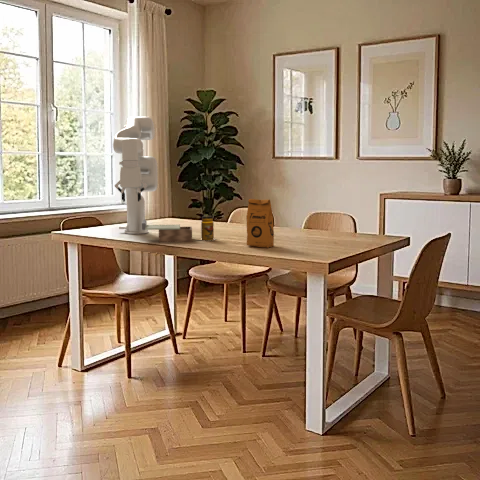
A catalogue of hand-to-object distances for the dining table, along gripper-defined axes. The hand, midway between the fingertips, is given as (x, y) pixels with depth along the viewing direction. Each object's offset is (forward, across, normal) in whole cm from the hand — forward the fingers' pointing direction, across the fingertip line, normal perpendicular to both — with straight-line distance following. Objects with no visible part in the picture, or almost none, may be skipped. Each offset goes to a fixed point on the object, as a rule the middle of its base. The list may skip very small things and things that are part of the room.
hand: (131, 201), depth 304 cm
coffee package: (+20, +60, -24) cm, 68 cm away
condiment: (+20, +36, 0) cm, 41 cm away
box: (+20, +21, 0) cm, 29 cm away
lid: (+13, +14, 0) cm, 19 cm away
